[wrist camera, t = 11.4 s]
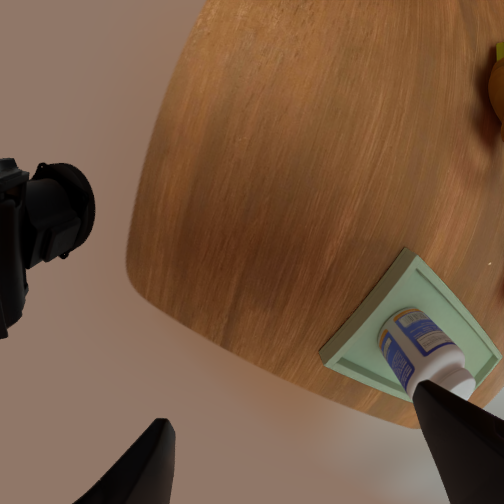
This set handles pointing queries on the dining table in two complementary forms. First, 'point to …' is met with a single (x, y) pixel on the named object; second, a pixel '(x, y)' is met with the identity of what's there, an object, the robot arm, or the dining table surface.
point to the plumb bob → (498, 86)
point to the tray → (389, 303)
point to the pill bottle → (423, 354)
